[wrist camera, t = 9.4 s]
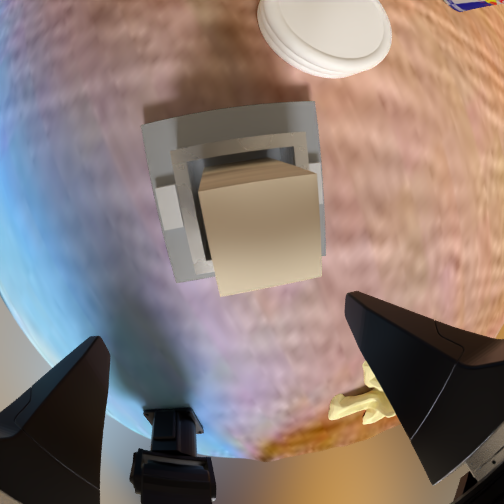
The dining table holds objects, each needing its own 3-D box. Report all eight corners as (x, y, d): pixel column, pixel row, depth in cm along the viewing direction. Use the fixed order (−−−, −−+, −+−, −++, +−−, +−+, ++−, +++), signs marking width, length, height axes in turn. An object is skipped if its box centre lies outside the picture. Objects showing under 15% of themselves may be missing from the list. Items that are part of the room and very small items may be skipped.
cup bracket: (298, 234, 21) (314, 252, 17) (197, 252, 20) (196, 274, 17) (288, 132, 17) (305, 131, 14) (177, 148, 17) (169, 150, 14)
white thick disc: (229, 6, 14) (233, -15, 11) (324, -29, 13) (340, -46, 9) (307, 100, 18) (325, 94, 15) (390, 55, 17) (415, 48, 13)
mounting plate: (320, 249, 23) (328, 258, 21) (177, 275, 22) (175, 287, 20) (308, 103, 18) (317, 100, 16) (145, 126, 17) (138, 125, 15)
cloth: (380, 419, 40) (392, 443, 35) (301, 424, 35) (312, 456, 30) (456, 330, 33) (478, 352, 28) (392, 311, 28) (420, 343, 23)
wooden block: (275, 217, 20) (321, 276, 12) (215, 228, 19) (220, 296, 11) (268, 157, 18) (317, 173, 10) (204, 167, 18) (198, 191, 9)
